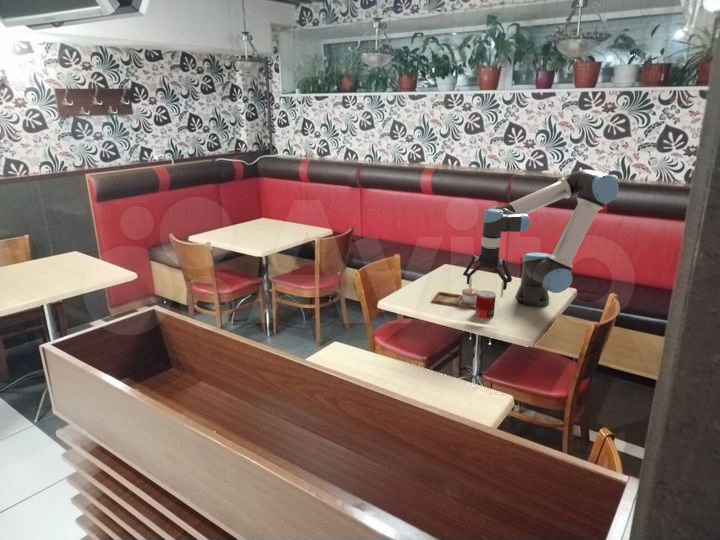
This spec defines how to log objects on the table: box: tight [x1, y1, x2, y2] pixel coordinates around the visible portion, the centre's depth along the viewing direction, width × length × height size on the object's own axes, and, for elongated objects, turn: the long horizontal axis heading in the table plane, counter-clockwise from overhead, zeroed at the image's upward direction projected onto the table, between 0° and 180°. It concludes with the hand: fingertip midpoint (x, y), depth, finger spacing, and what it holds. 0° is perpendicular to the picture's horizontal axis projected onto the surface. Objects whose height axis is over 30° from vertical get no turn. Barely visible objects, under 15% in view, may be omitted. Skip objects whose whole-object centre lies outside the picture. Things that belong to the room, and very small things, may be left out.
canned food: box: [475, 290, 497, 319], centre depth 232 cm, size 8×8×11 cm
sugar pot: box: [461, 287, 479, 306], centre depth 244 cm, size 8×8×7 cm
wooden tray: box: [431, 291, 476, 310], centre depth 248 cm, size 22×12×2 cm, turn 67°
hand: (485, 294), depth 230 cm, fingers open, 13 cm apart
